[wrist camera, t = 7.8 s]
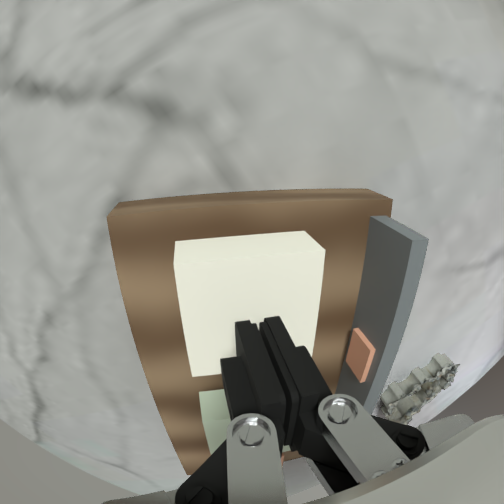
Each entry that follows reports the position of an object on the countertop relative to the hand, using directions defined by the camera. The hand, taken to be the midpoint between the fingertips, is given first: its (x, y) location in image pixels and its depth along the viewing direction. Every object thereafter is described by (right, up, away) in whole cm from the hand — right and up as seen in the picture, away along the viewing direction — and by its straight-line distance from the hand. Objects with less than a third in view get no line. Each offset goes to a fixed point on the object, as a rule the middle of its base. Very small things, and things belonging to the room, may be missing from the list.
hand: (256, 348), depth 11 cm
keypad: (0, -6, +12) cm, 13 cm away
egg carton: (+20, -13, +20) cm, 32 cm away
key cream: (-1, +2, +4) cm, 4 cm away
